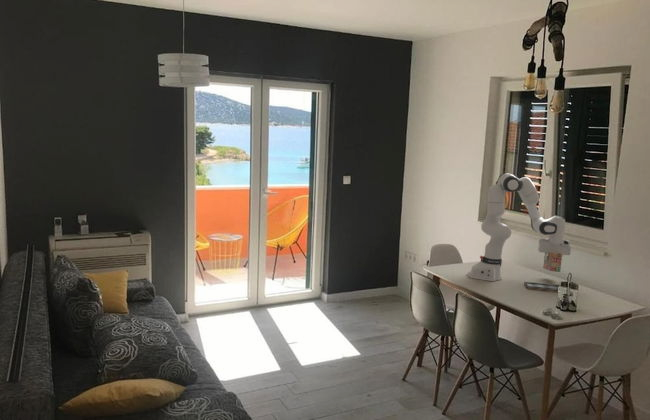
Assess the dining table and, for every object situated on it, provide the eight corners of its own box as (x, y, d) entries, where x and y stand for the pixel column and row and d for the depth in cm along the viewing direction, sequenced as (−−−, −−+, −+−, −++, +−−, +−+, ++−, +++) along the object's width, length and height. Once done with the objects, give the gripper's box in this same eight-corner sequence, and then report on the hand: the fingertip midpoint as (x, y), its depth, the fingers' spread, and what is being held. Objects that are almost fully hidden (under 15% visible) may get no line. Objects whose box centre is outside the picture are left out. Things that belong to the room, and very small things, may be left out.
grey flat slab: (527, 288, 349) (527, 285, 349) (524, 284, 359) (524, 281, 358) (567, 293, 345) (568, 290, 345) (563, 288, 355) (564, 285, 354)
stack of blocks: (542, 268, 378) (544, 250, 378) (552, 269, 377) (554, 251, 377) (550, 271, 357) (552, 252, 357) (560, 272, 356) (562, 253, 356)
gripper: (540, 239, 363) (537, 259, 365) (572, 242, 359) (569, 262, 362) (538, 237, 369) (535, 257, 371) (570, 240, 365) (567, 260, 368)
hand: (552, 259), depth 366 cm, fingers closed on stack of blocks, 6 cm apart
